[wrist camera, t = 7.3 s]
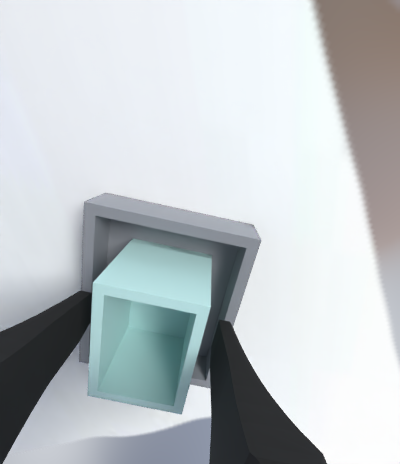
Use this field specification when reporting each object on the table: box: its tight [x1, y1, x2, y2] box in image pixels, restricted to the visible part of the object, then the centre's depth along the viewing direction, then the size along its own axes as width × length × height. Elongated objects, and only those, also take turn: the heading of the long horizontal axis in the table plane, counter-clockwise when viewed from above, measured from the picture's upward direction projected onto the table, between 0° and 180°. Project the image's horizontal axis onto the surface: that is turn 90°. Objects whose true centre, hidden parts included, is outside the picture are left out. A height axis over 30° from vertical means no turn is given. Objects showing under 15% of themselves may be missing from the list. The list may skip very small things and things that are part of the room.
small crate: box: [88, 238, 212, 414], centre depth 13 cm, size 5×7×5 cm
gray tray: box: [79, 193, 261, 388], centre depth 15 cm, size 9×11×2 cm
